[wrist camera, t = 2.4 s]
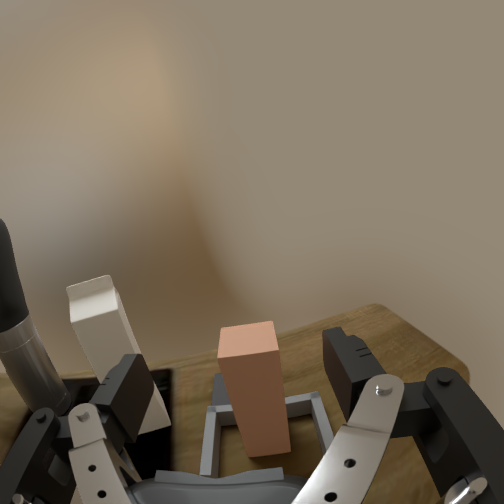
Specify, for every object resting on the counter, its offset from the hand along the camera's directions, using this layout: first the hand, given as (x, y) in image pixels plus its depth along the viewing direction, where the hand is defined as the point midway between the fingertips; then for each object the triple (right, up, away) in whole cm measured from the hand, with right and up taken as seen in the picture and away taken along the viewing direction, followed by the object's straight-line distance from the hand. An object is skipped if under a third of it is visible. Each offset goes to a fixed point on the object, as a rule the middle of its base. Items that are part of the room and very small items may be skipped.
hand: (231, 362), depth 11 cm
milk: (-14, -20, +21) cm, 32 cm away
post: (+3, -18, +16) cm, 25 cm away
